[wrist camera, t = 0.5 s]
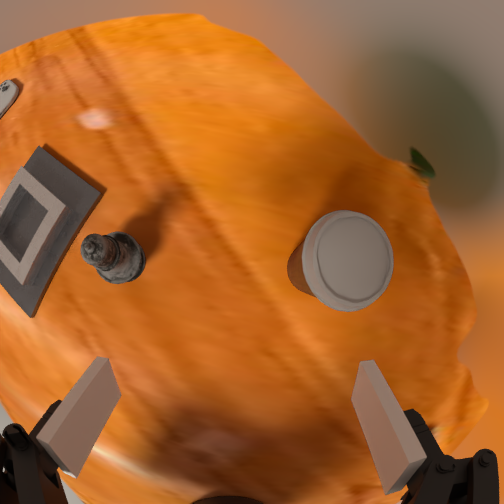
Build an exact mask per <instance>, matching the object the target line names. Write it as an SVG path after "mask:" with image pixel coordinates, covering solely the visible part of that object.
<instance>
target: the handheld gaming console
mask: <svg viewBox="0 0 504 504" xmlns="http://www.w3.org/2000/svg"><path fill="white" fill-rule="evenodd" d="M18 92H19V88H18V87H17V85H16V84H14V83H13V82H12V81H11V80H6V81H4V82H3V83H2V84H1V85H0V118H1V117H2V116H3V115H4V114H5V112H6V111H7V110H8V109H9V108H10V106H11V105H12V104H13V103H14V101H15V100H16V98H17V96H18Z"/></svg>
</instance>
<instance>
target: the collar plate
mask: <svg viewBox="0 0 504 504" xmlns="http://www.w3.org/2000/svg"><path fill="white" fill-rule="evenodd" d="M102 197H103V195H102V194H101V193H100V192H99V191H97V190H96V189H95V188H93V187H92V186H91V185H89V184H88V183H87V182H85V181H84V180H83V179H81V178H80V177H79V176H77V175H76V174H75V173H73V172H72V171H71V170H70V169H68V168H67V167H66V166H64V165H63V164H62V163H60V162H59V161H58V160H57V159H55V158H54V157H53V156H51V155H50V154H49V153H48V152H46V151H45V150H44V149H43V148H41V147H40V146H38V147H37V149H36V150H35V151H34V153H33V154H32V156H31V157H30V159H29V160H28V161H27V163H26V164H25V166H24V167H22V166H21V167H20V169H19V170H18V172H17V173H16V175H15V177H14V178H13V180H12V181H11V183H10V185H9V186H8V188H7V190H6V191H5V193H4V195H3V197H2V198H1V200H0V283H1V285H2V286H3V287H4V288H5V290H6V291H7V292H8V293H9V294H10V296H11V297H12V298H13V299H14V300H15V301H16V303H17V304H18V305H19V306H20V307H21V308H22V309H23V310H24V312H25V313H26V314H27V315H28V316H29V317H30V318H33V317H34V316H35V314H36V312H37V310H38V307H39V305H40V303H41V301H42V299H43V297H44V295H45V292H46V290H47V288H48V286H49V284H50V282H51V280H52V278H53V277H54V275H55V273H56V271H57V269H58V267H59V265H60V263H61V262H62V260H63V258H64V256H65V255H66V253H67V251H68V249H69V248H70V246H71V244H72V243H73V241H74V239H75V238H76V236H77V234H78V233H79V231H80V229H81V228H82V226H83V225H84V223H85V222H86V220H87V219H88V217H89V216H90V214H91V213H92V211H93V210H94V208H95V207H96V205H97V204H98V202H99V201H100V199H101V198H102Z"/></svg>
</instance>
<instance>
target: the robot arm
mask: <svg viewBox="0 0 504 504" xmlns="http://www.w3.org/2000/svg"><path fill="white" fill-rule="evenodd" d="M120 397H121V392H120V390H119V387H118V384H117V382H116V379H115V376H114V373H113V370H112V367H111V364H110V361H109V358H103V357H96V359H95V360H94V361H93V362H92V364H91V365H90V366H89V367H88V369H87V370H86V371H85V372H84V374H83V375H82V376H81V378H80V379H79V380H78V381H77V383H76V384H75V385H74V387H73V388H72V389H71V390H70V392H69V393H68V394H67V396H66V397H65V398H64V400H63V401H61V400H58V401H56V402H55V403H53V404H52V405H51V406H50V407H49V408H48V410H47V411H46V413H45V414H44V415H43V416H42V417H43V418H41V419H40V420H39V422H38V423H37V424H36V426H35V427H34V428H33V430H32V431H31V432H30V434H29V435H28V434H27V432H26V431H25V430H24V428H23V427H22V426H21V425H20V424H17V423H12V424H10V425H8V426H6V427H5V429H4V430H3V434H2V435H3V436H4V438H3V437H2V436H1V434H0V504H68V501H67V498H66V495H65V492H64V489H63V486H62V483H61V479H60V476H59V473H58V471H57V469H58V467H60V469H61V470H62V471H63V472H64V473H65V474H68V475H70V476H72V477H75V478H77V477H78V475H79V473H80V471H81V469H82V467H83V465H84V463H85V461H86V459H87V458H88V456H89V454H90V452H91V450H92V448H93V446H94V444H95V442H96V440H97V439H98V437H99V435H100V433H101V431H102V429H103V427H104V426H105V424H106V422H107V420H108V418H109V416H110V415H111V413H112V411H113V409H114V407H115V406H116V404H117V402H118V400H119V399H120ZM351 401H352V404H353V406H354V409H355V411H356V414H357V417H358V419H359V422H360V425H361V427H362V430H363V433H364V436H365V438H366V441H367V444H368V447H369V449H370V452H371V455H372V458H373V461H374V464H375V466H376V469H377V472H378V475H379V478H380V481H381V484H382V487H383V490H384V493H385V495H387V494H390V493H394V492H397V491H400V490H402V489H403V487H404V486H405V485H406V484H407V487H408V489H409V490H408V491H407V492H406V493H405V494H404V495H403V496H402V498H401V499H400V500H403V501H402V502H401V504H499V476H498V464H497V457H496V454H495V453H494V452H493V451H491V450H489V449H482V450H479V451H478V452H477V453H476V454H475V455H474V456H473V457H471V458H465V459H454V458H453V457H452V456H449V455H444V454H443V452H442V451H441V449H440V447H439V445H438V444H437V442H436V440H435V438H434V437H433V435H432V433H431V431H429V428H428V426H427V424H425V421H424V419H423V418H422V416H421V415H420V414H419V413H418V412H416V411H415V410H414V409H410V410H406V411H403V410H402V409H401V407H400V405H399V403H398V401H397V400H396V398H395V396H394V394H393V392H392V391H391V389H390V387H389V385H388V384H387V382H386V380H385V378H384V377H383V375H382V373H381V372H380V370H379V368H378V366H377V365H376V363H375V361H374V360H368V361H360V364H359V368H358V373H357V377H356V381H355V385H354V389H353V393H352V397H351ZM3 467H4V468H5V471H4V472H3ZM193 504H263V503H261V502H259V501H256V500H253V499H249V498H244V497H236V496H222V497H213V498H208V499H204V500H200V501H198V502H195V503H193Z"/></svg>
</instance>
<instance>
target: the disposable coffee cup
mask: <svg viewBox="0 0 504 504" xmlns="http://www.w3.org/2000/svg"><path fill="white" fill-rule="evenodd" d="M287 272H288V276H289V279H290V281H291V283H292V284H293V285H294V286H295V287H296V288H297V289H298V290H300V291H302V292H305V293H307V294H309V295H312V296H314V297H316V298H318V299H319V300H320V301H321V302H322V303H324V304H325V305H327V306H328V307H330V308H333V309H335V310H338V311H346V312H350V311H358V310H360V309H363V308H365V307H367V306H369V305H370V304H371V303H373V302H374V301H375V300H377V299H378V298H379V297H380V296H381V295H382V293H383V292H384V291H385V290H386V288H387V286H388V284H389V282H390V280H391V276H392V273H393V251H392V247H391V244H390V241H389V239H388V237H387V235H386V233H385V231H384V230H383V229H382V228H381V226H380V225H379V224H378V223H377V222H376V221H374V220H373V219H372V218H370V217H369V216H367V215H364V214H362V213H358V212H354V211H349V210H339V211H334V212H331V213H328V214H326V215H325V216H323V217H322V218H320V219H319V220H318V221H317V222H316V223H315V224H314V225H313V226H312V227H311V229H310V231H309V232H308V234H307V236H306V239H305V240H304V241H303V242H302V243H301V244H300V245H299V246H298V248H297V249H296V250H294V252H293V253H292V254H291V256H290V258H289V260H288V265H287Z"/></svg>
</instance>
